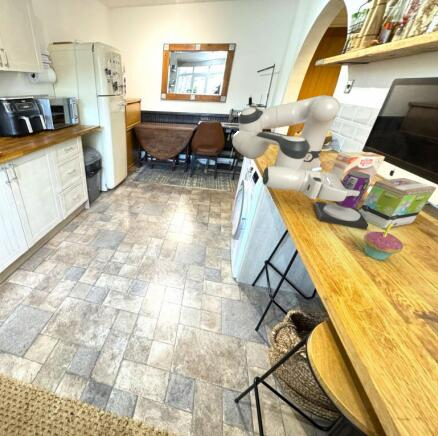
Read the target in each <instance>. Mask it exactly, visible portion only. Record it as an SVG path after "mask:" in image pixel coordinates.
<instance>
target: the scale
mask: <svg viewBox="0 0 438 436" xmlns="http://www.w3.org/2000/svg"><path fill="white" fill-rule="evenodd" d="M313 206H314V209H315V212H316V215H317V218H318V221H319V222H324V223H328V224H332V225H333V224H334V225H340V226H344V227H349V228H353V229H354V228H355V229H360V230H365V231H366V230H367V229H368V227H369V222H368V221H366V220H365V219H364V217H363V216H362V214H361V213H360V212H359V210H360V209H358V208H357V207H355V208H344V207H341V206H338V205H337V204H336V203H333V202H323V201H315V203H314V205H313Z"/></svg>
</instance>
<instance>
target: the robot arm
mask: <svg viewBox="0 0 438 436" xmlns="http://www.w3.org/2000/svg"><path fill="white" fill-rule="evenodd" d="M339 111H340V102H339V99H337V98H336V97H334V96H331V95H326V94H322V95H317V96H314V97H309V98H305V99H301V100H296V101H292V102H288V103H283V104H278V105H273V106H269V107H266V108H264V109H259V108H258V107H254V106H252V107H247V108H245V109H243V110H241V111H240V113H238V119H237V121H238V131H237V132H236V133H235V134H234V135H233V137H232V140H231V143H232V147H234V149H235V150H236V151H237V152H238V153H239V154H241V155H242V157H245V158H246V159H248V160H256V159H259V158H261V157H263V155H265V154H266V152H267V151H268V149H269V147H270V146H271V145H273V146H275V147H277V149H278V150H277V155H276V158H275V162H274V164H273V165H270V166H265V168H264V170H263V173H262V178H261V179H262V183H263V186H264V187H267V188H271V189H275V190H279V191H284V192H285V191H292V192H295V193H298V194H301V195H304V196H306V197H307V198H308V199H310V200H316V199H318V200H323V201H329V202H331V201H332V202H334V201H338V202H340V201H344V200H345V198H346V196H358V195H359V193H360V192H359V190H354V189H353V190H348V189H345V187H344V186H343V184H342V181H343V180H341V179H338V177H337V176H336V175H335V174H332V173H330V172H321V170H322V167H321V162H322V161H321V160H320V157H321V155H322V148H323V146H324V143H325V140H326V138H327V136H328V133H329V131H330V129H331V127H332V125H333V123H334V121H335V120H336V117H337V115H338V113H339ZM299 124H304V126H303V128H302V130H301V132H300V136H295V135H288V134H284V133H283V134H282V133H279V132H274V131H265V130H272V129H273V130H274V129H277V128H278V129H279V128H285V127H291V126H296V125H299ZM263 130H264V131H263Z"/></svg>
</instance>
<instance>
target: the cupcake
mask: <svg viewBox="0 0 438 436" xmlns="http://www.w3.org/2000/svg"><path fill="white" fill-rule="evenodd" d="M391 226H392V221H391V223H389V225H388V227H387V228H385V230H384V231H374V230H373V231H370V232H367V233H366V234H364V236H363V242H364V244H365V250H364V253H365V254H366V255H367V256H369V257H371V258H373V259H375V260H379V261H383V260H386V259H387V258H389V257H391V256H392V255H394V254H399V253H401V252H402V251H403V249H404V245H403V242H402V241H401V240H400V239H399V238H398V237H396V236H395V235H394V234H391V233H389V231H390V230H391V228H392V227H391Z"/></svg>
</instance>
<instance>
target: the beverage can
mask: <svg viewBox="0 0 438 436" xmlns="http://www.w3.org/2000/svg"><path fill="white" fill-rule="evenodd" d="M369 182H370V175H369V174H366V173H363V172H357V171H349V172H348V174H347V175H345V176H344V178H343V181H342V184H343V186H344V187H345V189H348V190H353V189H354V190H359V192H360V193H359V195H358V196H346V198H345V200H344V201H340V202H338V201H333V204H337V205H338V206H341V207H344V208H357V207H358V206H359V204H360V202H361V201H360V200H361V198H362V196H363V194H364V192H365V190H366V188H367V186H368V184H369Z"/></svg>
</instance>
